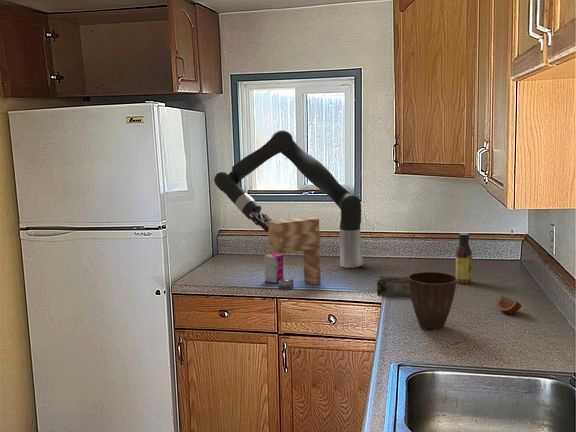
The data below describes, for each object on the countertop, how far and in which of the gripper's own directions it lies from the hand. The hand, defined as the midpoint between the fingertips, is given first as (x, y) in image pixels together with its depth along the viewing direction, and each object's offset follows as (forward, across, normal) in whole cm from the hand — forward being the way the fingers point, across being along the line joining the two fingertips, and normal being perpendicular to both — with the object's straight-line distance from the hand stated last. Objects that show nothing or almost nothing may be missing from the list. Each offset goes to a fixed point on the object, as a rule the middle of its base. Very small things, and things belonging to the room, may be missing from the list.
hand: (273, 231), depth 248 cm
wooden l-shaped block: (+23, -1, +9) cm, 25 cm away
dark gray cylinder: (+22, -4, +12) cm, 25 cm away
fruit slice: (+89, -9, -41) cm, 98 cm away
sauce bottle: (+69, +24, -34) cm, 81 cm away
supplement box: (+14, +1, +16) cm, 21 cm away
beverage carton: (+57, +1, -18) cm, 60 cm away
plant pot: (+75, -31, -24) cm, 85 cm away
